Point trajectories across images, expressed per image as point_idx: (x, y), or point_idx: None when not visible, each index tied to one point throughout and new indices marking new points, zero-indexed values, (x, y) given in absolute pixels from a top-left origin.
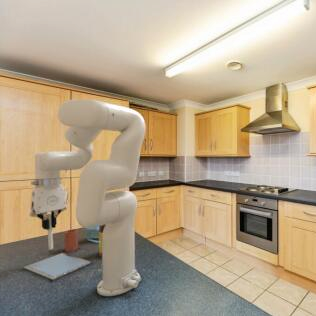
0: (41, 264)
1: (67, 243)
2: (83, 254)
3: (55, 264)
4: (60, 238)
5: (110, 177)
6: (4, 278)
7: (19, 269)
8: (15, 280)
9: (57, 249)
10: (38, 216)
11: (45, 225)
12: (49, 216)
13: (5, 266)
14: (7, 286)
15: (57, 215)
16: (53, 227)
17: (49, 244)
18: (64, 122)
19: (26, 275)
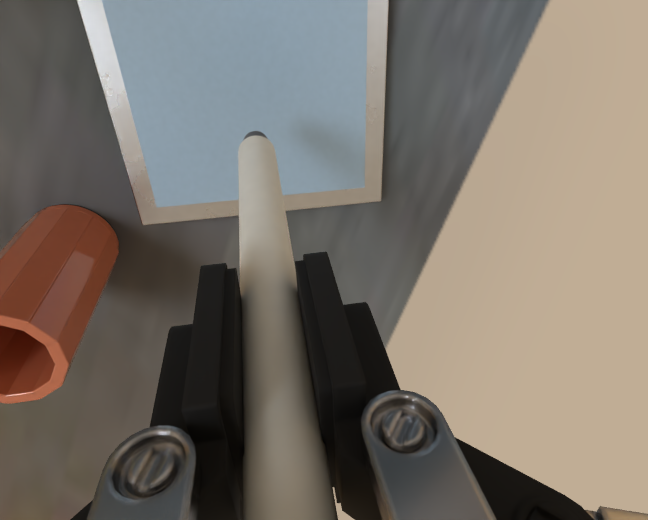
0: (310, 134)
1: (85, 264)
2: (7, 56)
3: (255, 19)
4: (84, 482)
5: None
6: (475, 157)
7: (386, 214)
8: (473, 56)
9: (144, 336)
10: (574, 511)
11: (353, 319)
12: (294, 495)
13: (396, 317)
14: (534, 4)
15: (112, 482)
16: (233, 268)
17: (276, 166)
18: None
19: (413, 71)
